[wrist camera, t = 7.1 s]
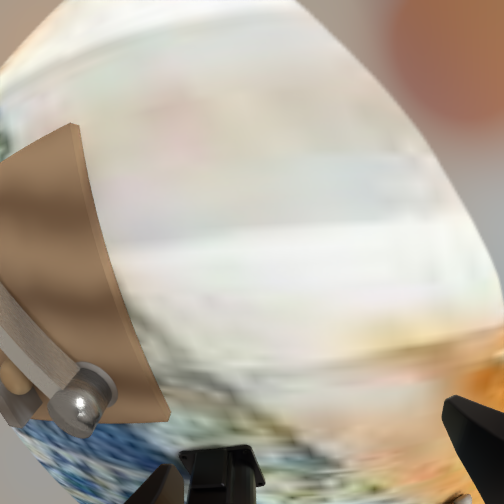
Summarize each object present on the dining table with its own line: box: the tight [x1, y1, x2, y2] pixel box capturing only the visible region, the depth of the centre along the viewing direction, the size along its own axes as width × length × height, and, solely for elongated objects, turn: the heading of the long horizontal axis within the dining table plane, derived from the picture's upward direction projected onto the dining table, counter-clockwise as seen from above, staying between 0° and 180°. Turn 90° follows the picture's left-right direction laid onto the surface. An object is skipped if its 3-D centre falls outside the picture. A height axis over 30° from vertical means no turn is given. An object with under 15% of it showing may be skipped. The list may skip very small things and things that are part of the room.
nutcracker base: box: [0, 123, 171, 428], centre depth 17 cm, size 22×16×5 cm
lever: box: [0, 282, 112, 438], centre depth 16 cm, size 17×4×4 cm, turn 46°
